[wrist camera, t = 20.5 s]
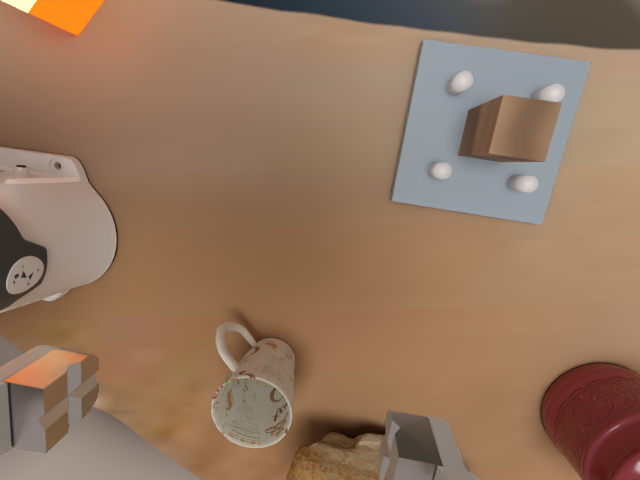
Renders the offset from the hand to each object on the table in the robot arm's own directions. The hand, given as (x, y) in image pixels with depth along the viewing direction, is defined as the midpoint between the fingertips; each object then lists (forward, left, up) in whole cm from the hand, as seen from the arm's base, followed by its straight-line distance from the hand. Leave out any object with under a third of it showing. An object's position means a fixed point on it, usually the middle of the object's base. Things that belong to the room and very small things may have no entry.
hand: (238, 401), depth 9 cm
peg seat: (+13, +14, -31) cm, 36 cm away
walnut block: (+13, +14, -30) cm, 35 cm away
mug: (-2, -18, -31) cm, 36 cm away
